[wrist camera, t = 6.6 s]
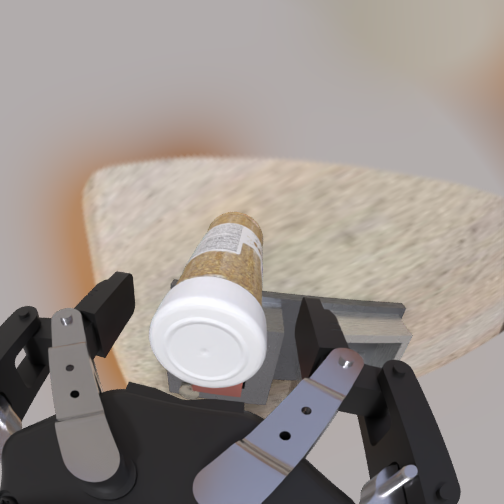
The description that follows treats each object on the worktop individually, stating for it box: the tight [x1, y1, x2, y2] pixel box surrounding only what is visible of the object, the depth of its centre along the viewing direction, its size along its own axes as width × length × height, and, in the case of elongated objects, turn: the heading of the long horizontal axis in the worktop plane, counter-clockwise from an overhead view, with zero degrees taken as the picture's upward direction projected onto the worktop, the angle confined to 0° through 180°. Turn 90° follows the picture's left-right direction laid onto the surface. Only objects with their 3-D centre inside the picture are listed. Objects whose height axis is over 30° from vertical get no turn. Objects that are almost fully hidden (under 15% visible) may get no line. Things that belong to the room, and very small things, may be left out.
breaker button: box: [192, 382, 243, 397], centre depth 22 cm, size 4×4×5 cm
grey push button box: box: [167, 279, 413, 405], centre depth 23 cm, size 22×10×6 cm, turn 83°
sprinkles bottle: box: [149, 212, 267, 388], centre depth 16 cm, size 5×5×13 cm
